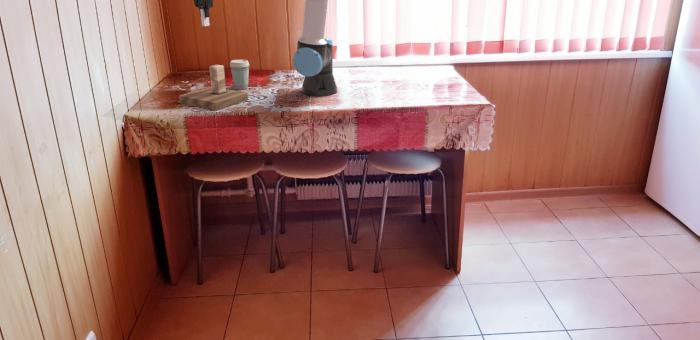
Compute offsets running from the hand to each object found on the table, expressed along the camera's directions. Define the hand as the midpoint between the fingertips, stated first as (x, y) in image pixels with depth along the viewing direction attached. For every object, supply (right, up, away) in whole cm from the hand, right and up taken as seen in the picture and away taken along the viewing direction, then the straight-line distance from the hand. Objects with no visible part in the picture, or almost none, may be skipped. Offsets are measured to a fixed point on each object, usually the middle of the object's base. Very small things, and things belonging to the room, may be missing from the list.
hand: (205, 25), depth 208 cm
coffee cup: (+10, -22, +21) cm, 32 cm away
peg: (+5, -30, +3) cm, 30 cm away
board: (+3, -31, +1) cm, 31 cm away
